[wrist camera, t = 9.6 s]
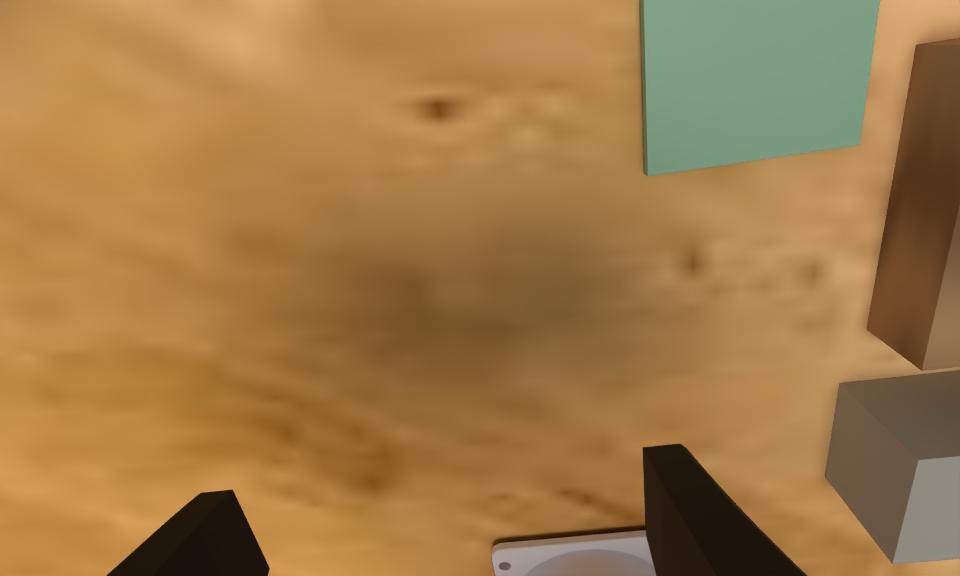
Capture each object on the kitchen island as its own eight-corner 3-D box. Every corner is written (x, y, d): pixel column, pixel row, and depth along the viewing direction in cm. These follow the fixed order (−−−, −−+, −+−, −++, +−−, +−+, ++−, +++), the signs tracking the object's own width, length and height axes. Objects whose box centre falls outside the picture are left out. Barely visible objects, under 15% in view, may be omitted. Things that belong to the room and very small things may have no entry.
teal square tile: (850, 142, 15) (859, 145, 15) (644, 173, 16) (648, 176, 16) (883, -103, 13) (894, -107, 13) (638, -57, 14) (642, -60, 13)
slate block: (942, 463, 21) (1039, 552, 17) (823, 474, 21) (892, 564, 17) (969, 367, 19) (1083, 444, 15) (837, 381, 19) (918, 460, 15)
